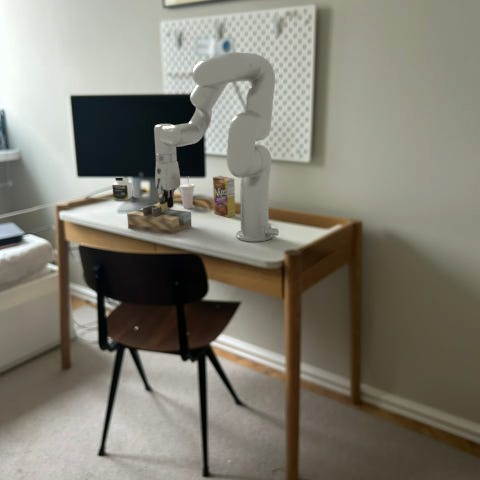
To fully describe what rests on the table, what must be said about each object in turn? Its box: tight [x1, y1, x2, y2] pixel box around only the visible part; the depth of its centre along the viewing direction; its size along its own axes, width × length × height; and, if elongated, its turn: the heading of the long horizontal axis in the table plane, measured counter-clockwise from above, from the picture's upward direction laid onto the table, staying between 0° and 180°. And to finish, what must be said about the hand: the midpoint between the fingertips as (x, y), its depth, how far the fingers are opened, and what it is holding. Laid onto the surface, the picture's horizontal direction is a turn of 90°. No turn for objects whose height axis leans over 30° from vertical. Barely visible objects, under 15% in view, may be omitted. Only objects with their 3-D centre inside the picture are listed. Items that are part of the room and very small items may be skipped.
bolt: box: [152, 195, 168, 212], centre depth 190 cm, size 2×6×5 cm, turn 153°
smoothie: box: [178, 177, 195, 210], centre depth 218 cm, size 6×6×14 cm
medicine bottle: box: [111, 177, 133, 201], centre depth 237 cm, size 7×7×12 cm
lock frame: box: [126, 204, 192, 235], centre depth 190 cm, size 20×12×8 cm, turn 63°
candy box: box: [212, 175, 236, 218], centre depth 206 cm, size 9×4×15 cm, turn 41°
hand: (168, 206), depth 195 cm, fingers closed
